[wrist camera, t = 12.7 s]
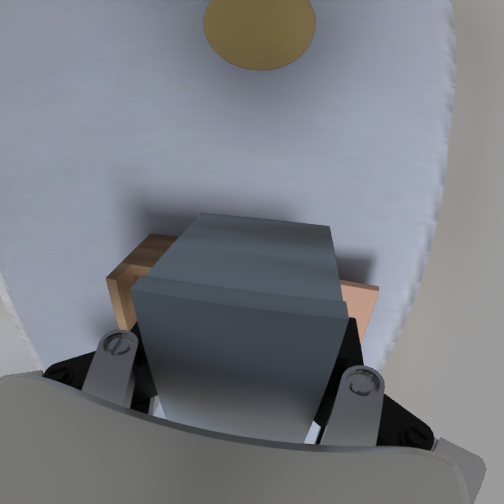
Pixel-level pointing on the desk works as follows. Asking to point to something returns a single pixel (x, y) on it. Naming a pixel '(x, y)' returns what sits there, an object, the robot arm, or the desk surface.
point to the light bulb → (259, 31)
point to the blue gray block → (243, 325)
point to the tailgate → (359, 302)
